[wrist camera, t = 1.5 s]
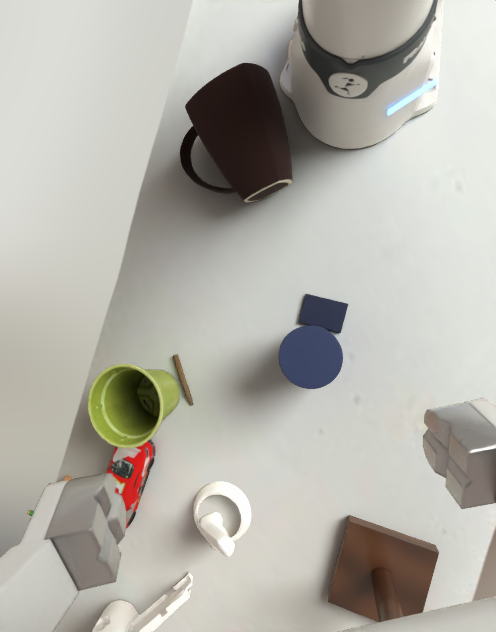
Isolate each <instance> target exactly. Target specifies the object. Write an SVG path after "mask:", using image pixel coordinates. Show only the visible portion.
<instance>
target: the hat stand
mask: <svg viewBox="0 0 496 632" xmlns="http://www.w3.org/2000/svg"><path fill="white" fill-rule="evenodd" d="M438 554H439V552H438V550H437V547H436V545H433V544H430V543H427V542H425V541H422V540H419V539H416V538H413V537H410V536H407V535H405V534H402V533H399V532H396V531H393V530H390V529H387V528H384V527H382V526H379V525H376V524H373V523H370V522H367V521H364V520H362V519H359V518H356V517H353V516H350V515H349V517H348V521H347V525H346V528H345V532H344V536H343V540H342V543H341V547H340V551H339V555H338V558H337V562H336V566H335V569H334V573H333V577H332V581H331V584H330V588H329V592H328V602H330V603H332V604H335V605H337V606H340V607H342V608H345V609H348V610H350V611H353V612H355V613H358V614H360V615H363V616H365V617H368V618H370V619H373V620H375V621H378V622H383V621H387V620H392V619H396V618H401V617H405V616H410V615H414V614H419V613H422V612H423V609H424V605H425V601H426V598H427V594H428V591H429V587H430V583H431V580H432V576H433V573H434V569H435V565H436V562H437V558H438Z"/></svg>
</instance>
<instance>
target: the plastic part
mask: <svg viewBox="0 0 496 632" xmlns="http://www.w3.org/2000/svg"><path fill="white" fill-rule="evenodd" d="M192 581H193V577H192V576H191V574H190V572H188V573H187V576H186V577H184V578H183V579H182V580H181V581H180V582H179V583H177V584H176V585H175V586H174V587H173V588H174V589H175V592H173V593H172V594H171V595H170V596H169V597H166V595H165V594H164V595H163V596H162V597H161V598H160V599H159V600H157V601H156V602H155V603H154V604H153V605H152V606H150V607H149V608H148V609H147V610H146V611H145V612H143V613H142V614H141V615H139V614H138V613H137V611H136V610H135V608H134V607H133V606H132V605H131V604H130V603H128V602H125V601H121V600H117V601H114V602H111V603H110V604H109V605H108V606H107V607H106V608H105V609H104V611H103V613H102V615H101V616H100V618H99V620H98V621H97V623H96V625H95V627H94V629H93V631H92V632H152V631H154V630H155V629H156V628H157V627H158V626H159V625H160V624H161V623H162V622H163V621H164V620H165V619H167V618H168V617H169V616H170V615H171V614H172V613H173V612H174V611H175V610H176V609H177V608H179V607H180V606H181V605H182V604H183V603H184V602H185V601H186V600H187V599H188V598H190V593H191V590H190V589H188V588H189V587H190V586H191V585H192ZM187 589H188V590H187Z"/></svg>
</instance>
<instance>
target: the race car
mask: <svg viewBox="0 0 496 632" xmlns="http://www.w3.org/2000/svg"><path fill="white" fill-rule="evenodd" d="M154 456H155V446H154V444H153V442H151V440H150V441H149V440H148V441H147V442H146V443H144V444H142V445H141V446H138V447H135V448H120V447H115V449H114V451H113V454H112V458H111V460H110V463H109V466H108V469H107V472H106V473H111V474H113V476H114V478H115V481H116V483H117V484H116V489H115V492H116V493H117V494H119V495H121V496H122V498H123V501H124V504H125V509H126V528H128V527H129V525H130V524H131V522H132V521H133V519H134V517H135V514H136V511H135V510H137V507H138V504H139V501H140V498H141V495H142V492H143V489H144V487H145V484H146V481H147V478H148V475H149V472H150V471H149V470H150V468H151V467H152V465H153V462H154Z"/></svg>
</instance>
